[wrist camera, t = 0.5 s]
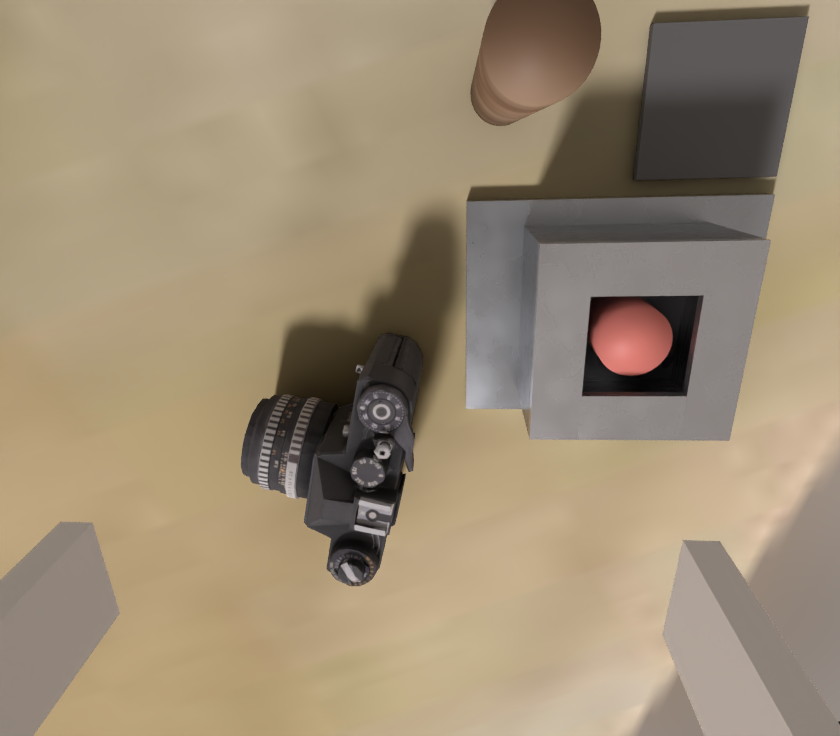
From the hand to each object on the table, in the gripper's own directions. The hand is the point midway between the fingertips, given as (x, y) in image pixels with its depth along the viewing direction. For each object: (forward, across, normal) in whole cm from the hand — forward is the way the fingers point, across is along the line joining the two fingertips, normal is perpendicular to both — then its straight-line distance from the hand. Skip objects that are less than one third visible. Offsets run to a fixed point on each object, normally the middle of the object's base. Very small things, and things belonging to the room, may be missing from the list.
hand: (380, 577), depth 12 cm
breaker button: (+23, +11, -1) cm, 26 cm away
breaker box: (+26, +11, -1) cm, 28 cm away
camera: (+26, -6, -10) cm, 29 cm away
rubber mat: (+26, +16, +11) cm, 33 cm away
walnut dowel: (+26, +4, +12) cm, 29 cm away
